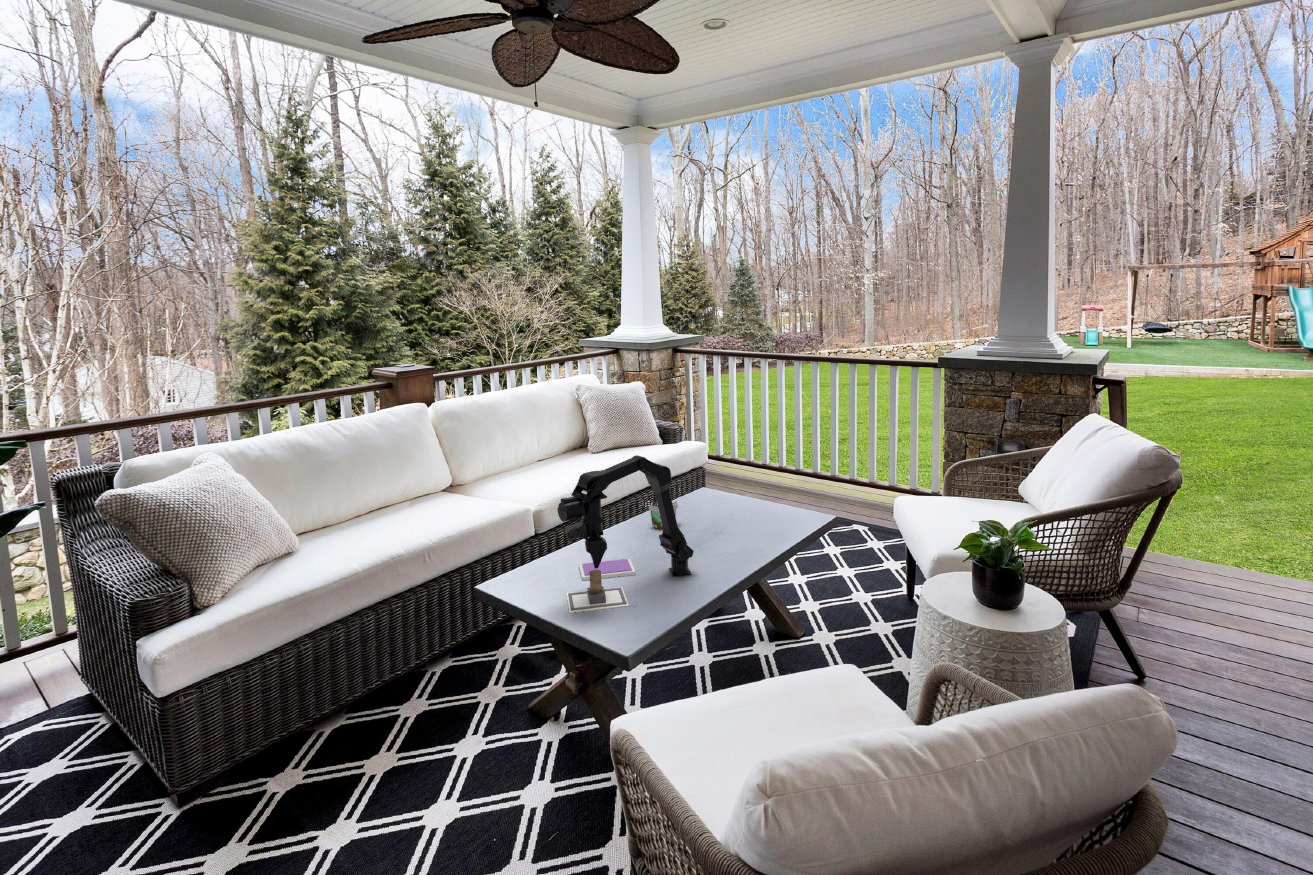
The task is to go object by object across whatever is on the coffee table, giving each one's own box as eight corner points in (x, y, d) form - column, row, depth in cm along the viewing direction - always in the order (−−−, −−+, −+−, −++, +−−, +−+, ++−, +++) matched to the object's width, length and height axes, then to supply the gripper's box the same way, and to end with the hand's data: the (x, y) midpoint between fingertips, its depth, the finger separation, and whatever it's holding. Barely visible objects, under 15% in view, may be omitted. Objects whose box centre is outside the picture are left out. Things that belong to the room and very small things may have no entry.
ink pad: (579, 567, 242) (578, 562, 241) (629, 561, 245) (629, 557, 245) (582, 580, 230) (582, 576, 230) (635, 574, 234) (635, 570, 233)
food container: (655, 532, 274) (654, 508, 272) (649, 528, 279) (648, 504, 277) (683, 528, 278) (682, 504, 276) (677, 523, 284) (676, 500, 282)
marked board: (566, 593, 220) (566, 592, 220) (622, 587, 224) (621, 585, 224) (569, 613, 207) (569, 611, 207) (628, 606, 210) (628, 604, 210)
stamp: (587, 595, 218) (585, 568, 216) (603, 593, 219) (601, 566, 217) (589, 604, 212) (588, 577, 210) (606, 602, 213) (604, 575, 211)
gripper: (563, 507, 217) (566, 554, 220) (567, 526, 199) (570, 577, 202) (598, 504, 219) (600, 551, 222) (606, 523, 201) (608, 573, 205)
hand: (594, 562), depth 213 cm, fingers open, 9 cm apart
